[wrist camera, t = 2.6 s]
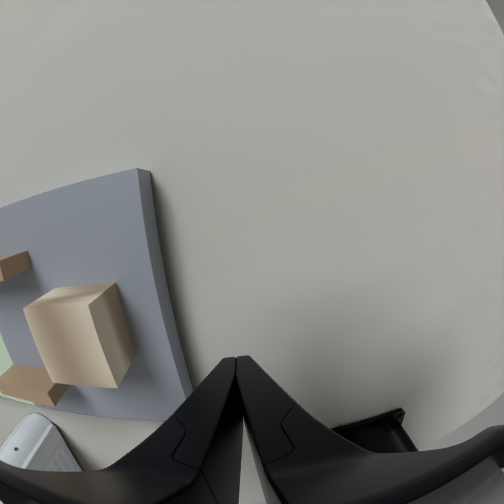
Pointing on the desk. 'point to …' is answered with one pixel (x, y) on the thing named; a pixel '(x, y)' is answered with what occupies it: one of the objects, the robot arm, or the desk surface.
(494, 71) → the desk surface
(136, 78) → the desk surface
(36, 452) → the photo printer
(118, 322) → the birch block
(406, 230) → the desk surface
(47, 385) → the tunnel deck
